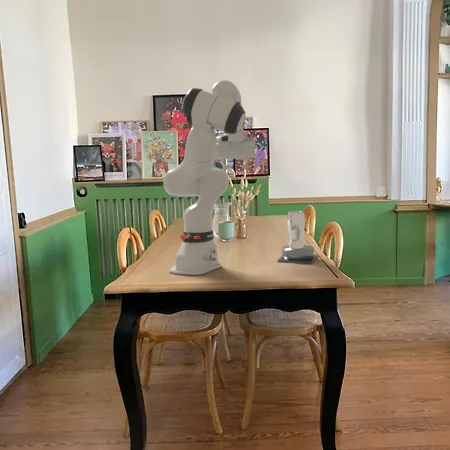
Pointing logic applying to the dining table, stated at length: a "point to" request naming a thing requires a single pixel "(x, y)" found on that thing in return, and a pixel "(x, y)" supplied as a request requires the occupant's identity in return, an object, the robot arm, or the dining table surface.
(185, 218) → the robot arm
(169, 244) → the dining table surface
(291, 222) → the pale grey rectangular box
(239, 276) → the dining table surface
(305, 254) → the duct stub
